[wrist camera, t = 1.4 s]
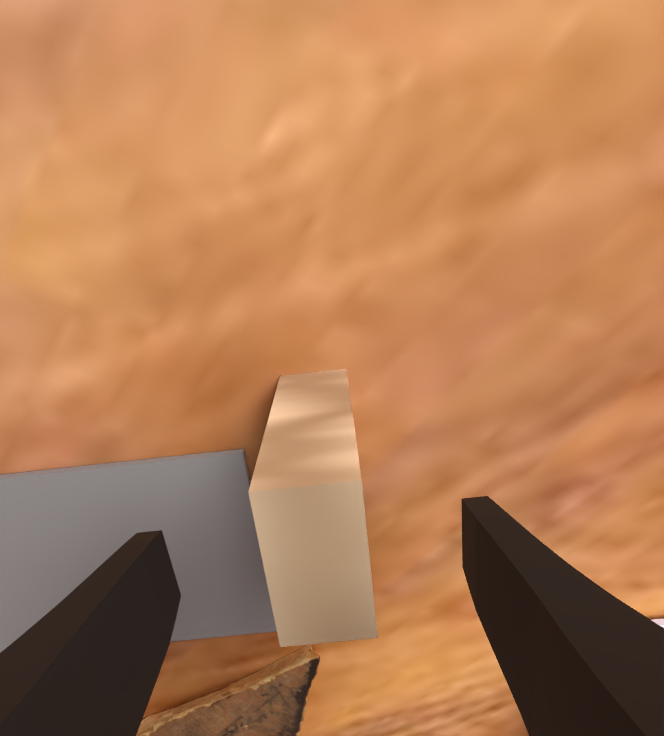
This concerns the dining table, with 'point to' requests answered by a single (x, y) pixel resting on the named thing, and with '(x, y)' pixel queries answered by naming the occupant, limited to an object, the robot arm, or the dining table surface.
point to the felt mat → (121, 522)
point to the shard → (246, 704)
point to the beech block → (313, 513)
